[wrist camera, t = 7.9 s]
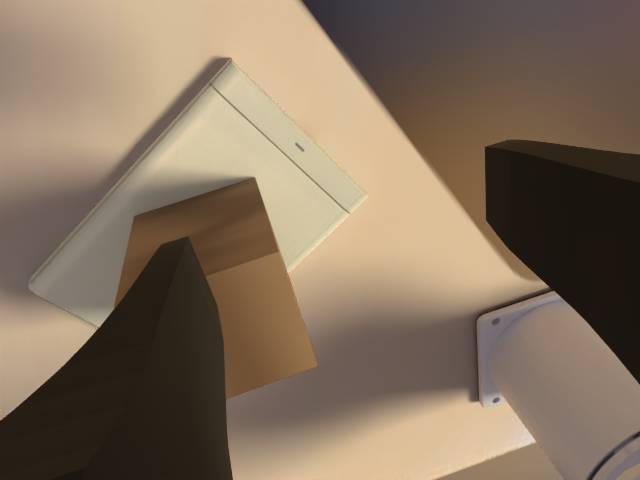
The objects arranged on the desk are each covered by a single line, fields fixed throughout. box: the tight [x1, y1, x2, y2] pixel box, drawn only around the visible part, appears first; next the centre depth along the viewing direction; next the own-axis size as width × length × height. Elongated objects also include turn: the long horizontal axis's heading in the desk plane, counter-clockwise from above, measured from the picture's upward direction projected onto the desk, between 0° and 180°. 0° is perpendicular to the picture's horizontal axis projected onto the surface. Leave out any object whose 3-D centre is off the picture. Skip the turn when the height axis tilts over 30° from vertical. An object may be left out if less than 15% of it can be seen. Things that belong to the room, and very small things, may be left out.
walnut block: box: [114, 177, 318, 399], centre depth 18 cm, size 5×5×6 cm
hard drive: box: [27, 58, 368, 327], centre depth 21 cm, size 2×8×12 cm
